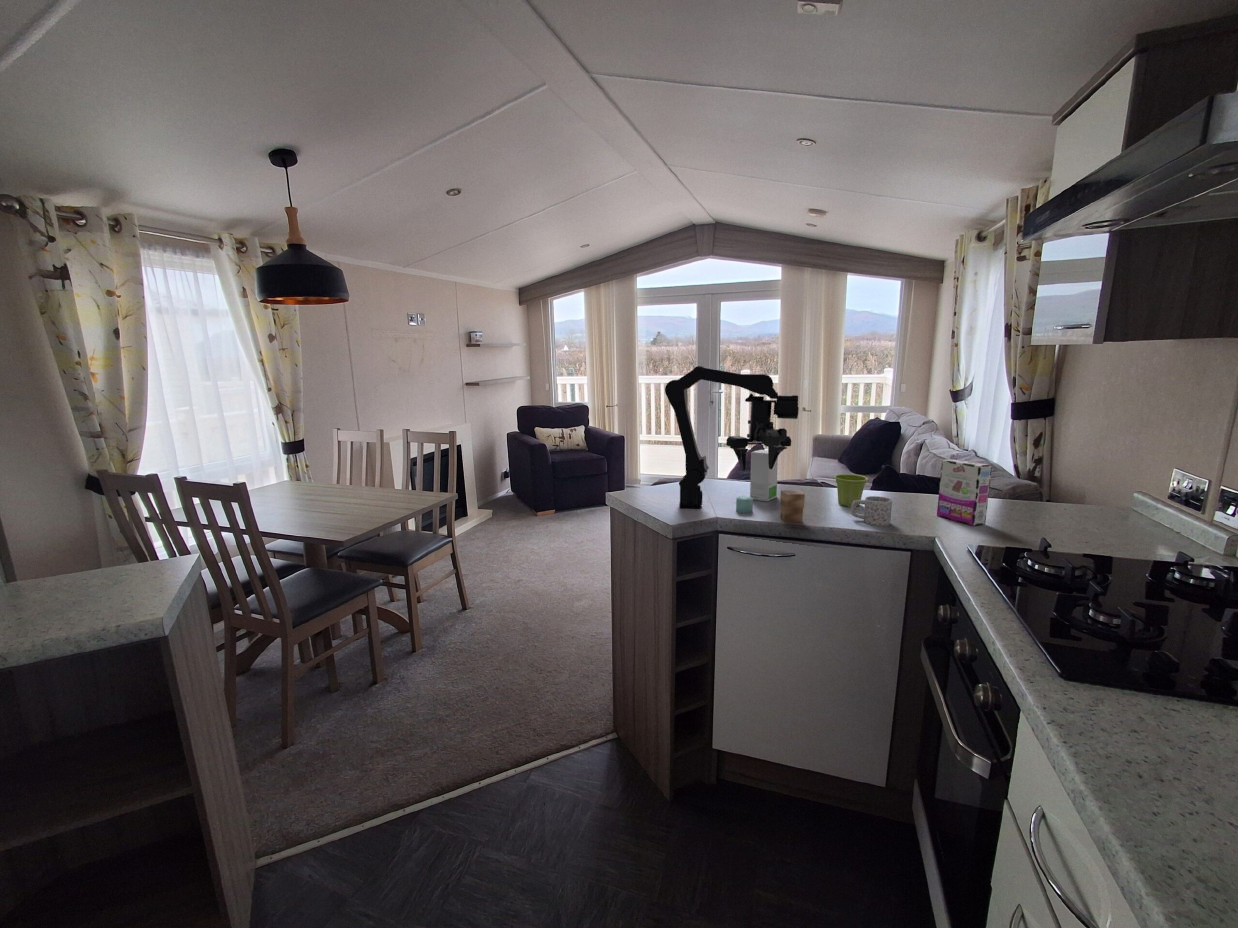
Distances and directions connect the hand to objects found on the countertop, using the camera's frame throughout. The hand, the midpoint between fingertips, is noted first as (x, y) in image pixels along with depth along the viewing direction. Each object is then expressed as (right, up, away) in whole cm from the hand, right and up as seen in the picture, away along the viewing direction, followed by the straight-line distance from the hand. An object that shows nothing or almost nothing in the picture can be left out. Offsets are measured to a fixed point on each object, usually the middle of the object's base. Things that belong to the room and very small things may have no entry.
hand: (757, 469), depth 158 cm
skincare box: (+6, -10, +16) cm, 19 cm away
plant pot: (+30, -11, +6) cm, 33 cm away
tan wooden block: (+8, -10, -9) cm, 15 cm away
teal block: (-4, -12, +1) cm, 13 cm away
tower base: (+8, -14, -8) cm, 18 cm away
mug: (+28, -14, -11) cm, 34 cm away
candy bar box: (+54, -14, -11) cm, 56 cm away
